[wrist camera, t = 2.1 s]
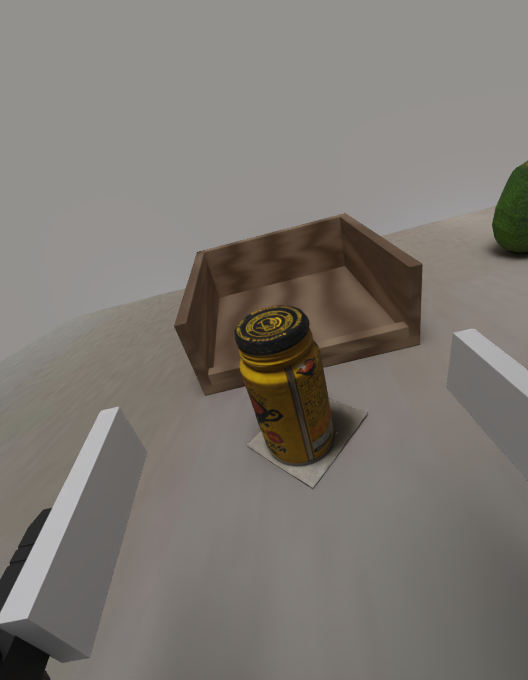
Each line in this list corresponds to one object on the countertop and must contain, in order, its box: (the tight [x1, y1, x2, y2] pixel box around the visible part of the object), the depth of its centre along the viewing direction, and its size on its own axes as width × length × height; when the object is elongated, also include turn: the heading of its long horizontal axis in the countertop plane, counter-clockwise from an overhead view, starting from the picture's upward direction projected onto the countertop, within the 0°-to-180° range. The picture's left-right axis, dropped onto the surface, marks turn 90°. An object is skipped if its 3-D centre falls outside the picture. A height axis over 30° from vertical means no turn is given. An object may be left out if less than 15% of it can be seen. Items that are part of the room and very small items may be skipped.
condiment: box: [234, 305, 367, 488], centre depth 25 cm, size 7×8×12 cm
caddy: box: [174, 213, 422, 395], centre depth 43 cm, size 24×24×9 cm
